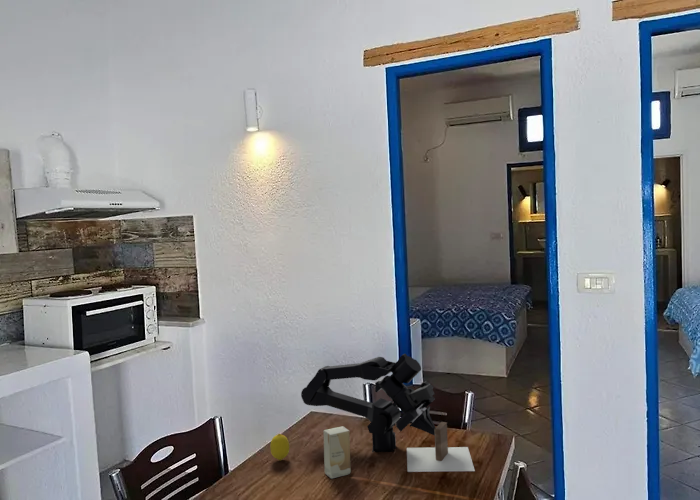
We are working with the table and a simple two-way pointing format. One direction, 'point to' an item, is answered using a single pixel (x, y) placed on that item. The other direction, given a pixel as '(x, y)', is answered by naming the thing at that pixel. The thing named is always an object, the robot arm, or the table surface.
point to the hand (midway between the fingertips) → (436, 434)
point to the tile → (441, 441)
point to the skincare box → (337, 452)
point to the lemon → (279, 447)
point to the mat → (427, 461)
